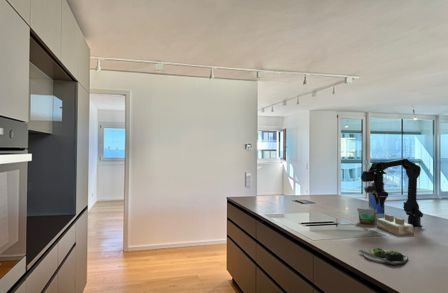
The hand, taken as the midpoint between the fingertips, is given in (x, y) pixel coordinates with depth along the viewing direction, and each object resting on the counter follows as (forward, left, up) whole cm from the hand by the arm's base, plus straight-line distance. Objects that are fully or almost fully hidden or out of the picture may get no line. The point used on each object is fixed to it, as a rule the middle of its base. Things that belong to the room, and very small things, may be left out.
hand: (379, 205), depth 195 cm
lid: (-4, +14, -9) cm, 17 cm away
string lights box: (-17, -30, -14) cm, 37 cm away
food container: (+3, -9, -14) cm, 17 cm away
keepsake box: (-4, +9, -14) cm, 17 cm away
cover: (-4, +4, -9) cm, 11 cm away
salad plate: (+32, +55, -14) cm, 65 cm away
